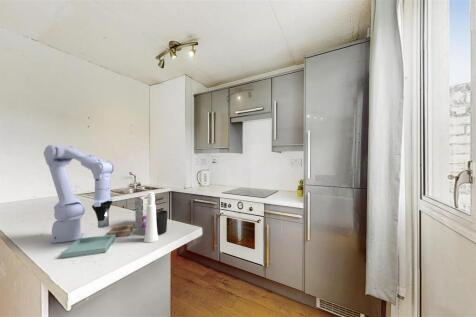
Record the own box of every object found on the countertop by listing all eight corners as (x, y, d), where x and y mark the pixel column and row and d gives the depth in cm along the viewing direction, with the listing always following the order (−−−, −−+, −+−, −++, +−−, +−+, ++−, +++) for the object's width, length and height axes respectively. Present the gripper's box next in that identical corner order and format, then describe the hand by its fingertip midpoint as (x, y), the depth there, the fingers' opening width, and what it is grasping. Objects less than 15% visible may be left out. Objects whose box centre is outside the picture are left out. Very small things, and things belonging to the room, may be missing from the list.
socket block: (107, 238, 89) (107, 233, 89) (113, 231, 98) (113, 226, 98) (129, 235, 92) (129, 230, 92) (133, 229, 100) (133, 224, 100)
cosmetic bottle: (143, 243, 83) (143, 193, 83) (144, 238, 89) (144, 191, 89) (158, 241, 86) (158, 192, 86) (158, 236, 91) (158, 190, 91)
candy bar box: (148, 221, 113) (148, 194, 112) (156, 222, 112) (155, 194, 111) (134, 228, 102) (134, 197, 102) (142, 229, 101) (142, 198, 101)
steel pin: (96, 228, 82) (96, 211, 82) (99, 225, 86) (99, 208, 86) (107, 227, 84) (107, 210, 84) (109, 224, 88) (109, 207, 88)
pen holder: (160, 236, 91) (160, 215, 91) (143, 235, 93) (143, 214, 93) (170, 229, 100) (170, 210, 100) (155, 228, 102) (155, 209, 102)
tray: (61, 258, 71) (61, 253, 71) (79, 242, 84) (79, 238, 84) (105, 252, 76) (105, 247, 76) (115, 238, 89) (115, 234, 89)
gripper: (108, 190, 79) (108, 223, 79) (117, 185, 93) (117, 213, 93) (87, 191, 77) (88, 225, 77) (100, 186, 91) (100, 215, 91)
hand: (102, 219), depth 85 cm, fingers closed on steel pin, 4 cm apart
